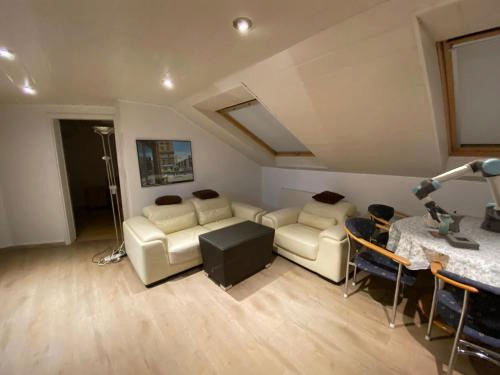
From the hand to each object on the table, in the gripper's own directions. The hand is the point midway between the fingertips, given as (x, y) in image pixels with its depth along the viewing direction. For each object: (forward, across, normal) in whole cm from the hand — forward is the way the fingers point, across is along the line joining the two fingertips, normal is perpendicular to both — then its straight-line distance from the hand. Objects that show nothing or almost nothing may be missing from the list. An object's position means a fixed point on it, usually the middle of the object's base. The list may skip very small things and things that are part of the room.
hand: (448, 224), depth 171 cm
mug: (-6, -16, -21) cm, 27 cm away
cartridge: (+5, 0, -8) cm, 10 cm away
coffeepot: (+5, -18, -11) cm, 21 cm away
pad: (+6, 0, -9) cm, 11 cm away
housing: (+16, +8, +1) cm, 18 cm away
